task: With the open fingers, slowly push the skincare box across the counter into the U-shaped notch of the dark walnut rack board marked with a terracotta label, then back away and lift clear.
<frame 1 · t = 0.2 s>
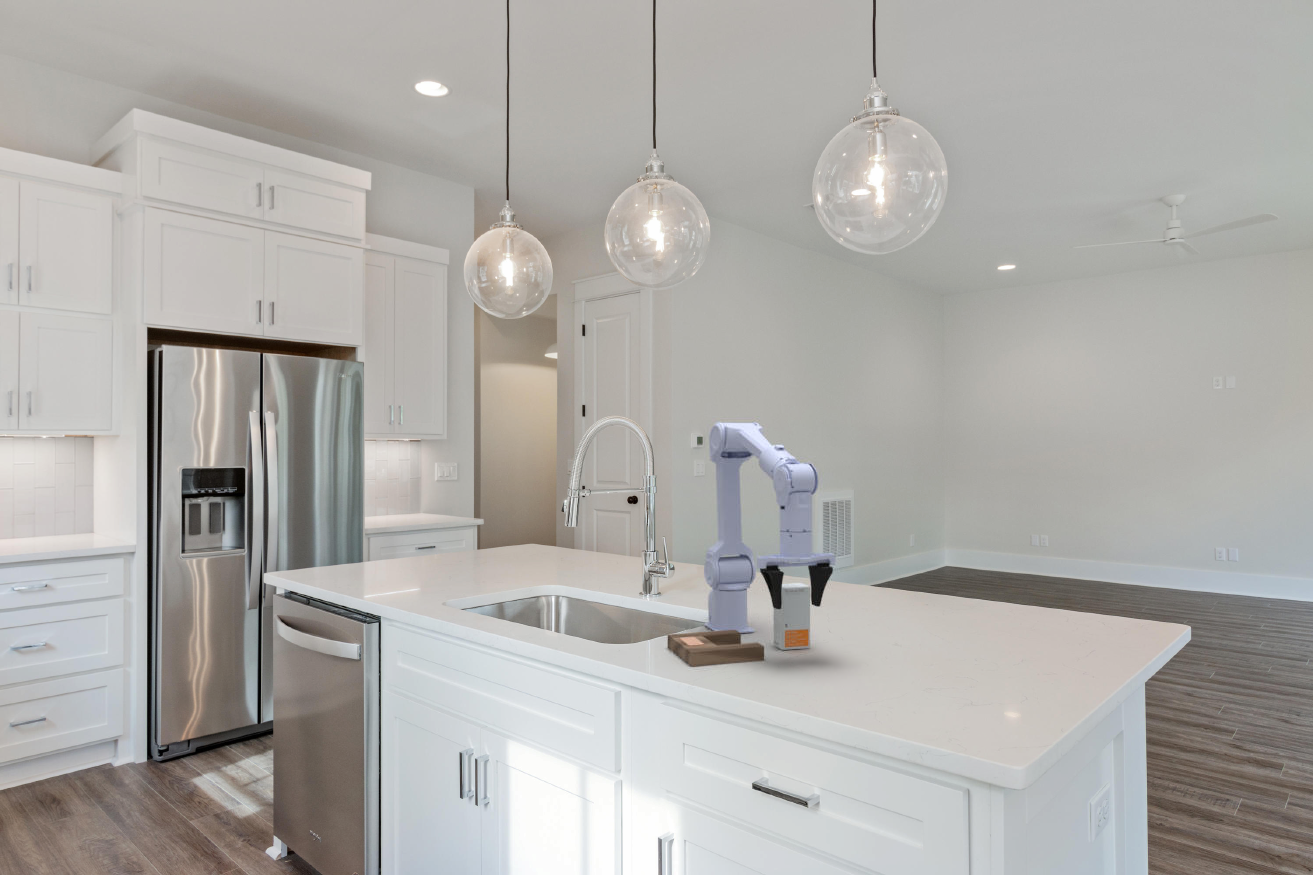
hand: (796, 606, 140), 10 cm above the worktop, fingers open, 7 cm apart
skincare box: (792, 648, 151), on the worktop
rack board: (714, 653, 146), on the worktop
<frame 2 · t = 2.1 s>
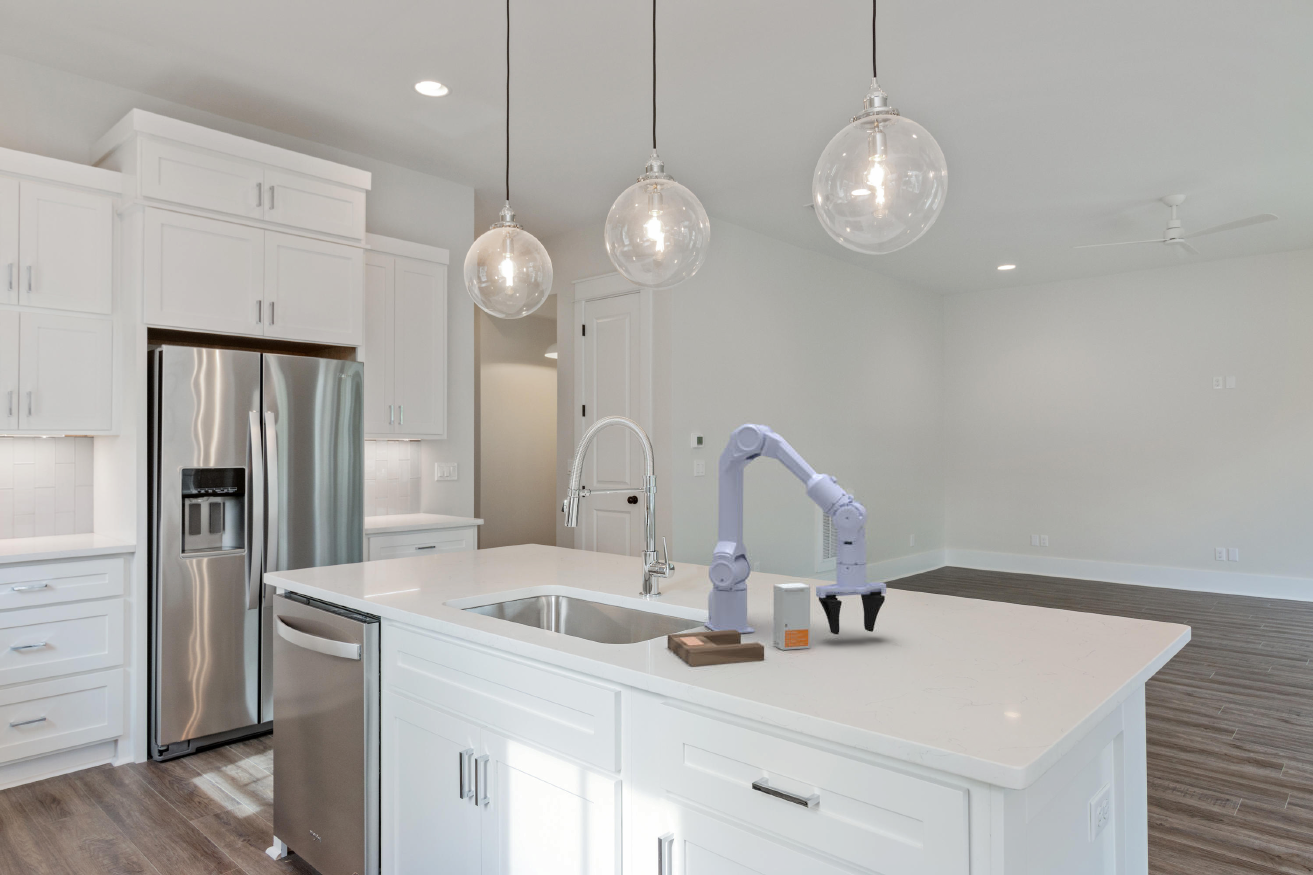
hand: (851, 631, 154), 2 cm above the worktop, fingers open, 7 cm apart
nothing on the worktop moved.
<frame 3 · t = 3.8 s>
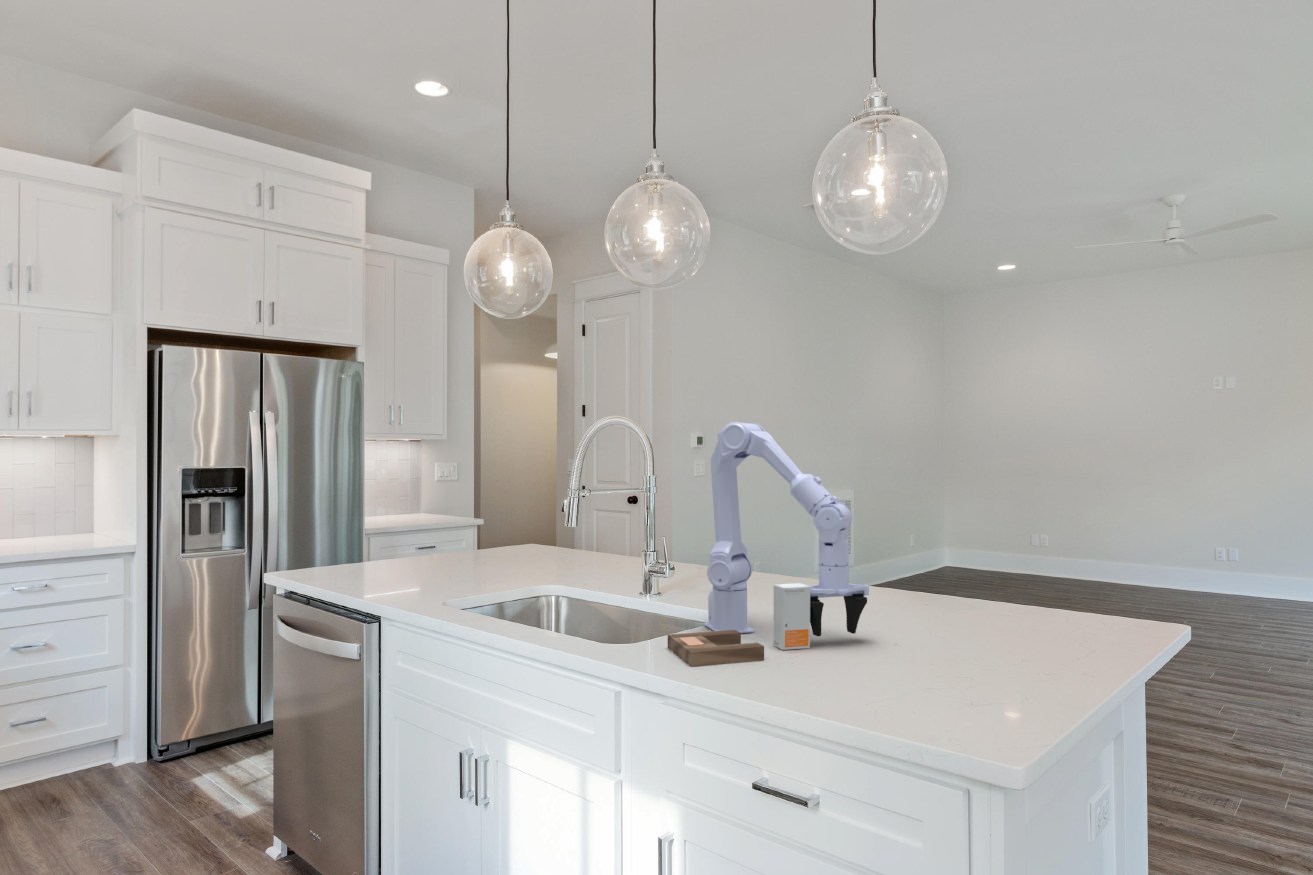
hand: (834, 633, 153), 2 cm above the worktop, fingers open, 7 cm apart
skincare box: (792, 648, 151), on the worktop, touching gripper
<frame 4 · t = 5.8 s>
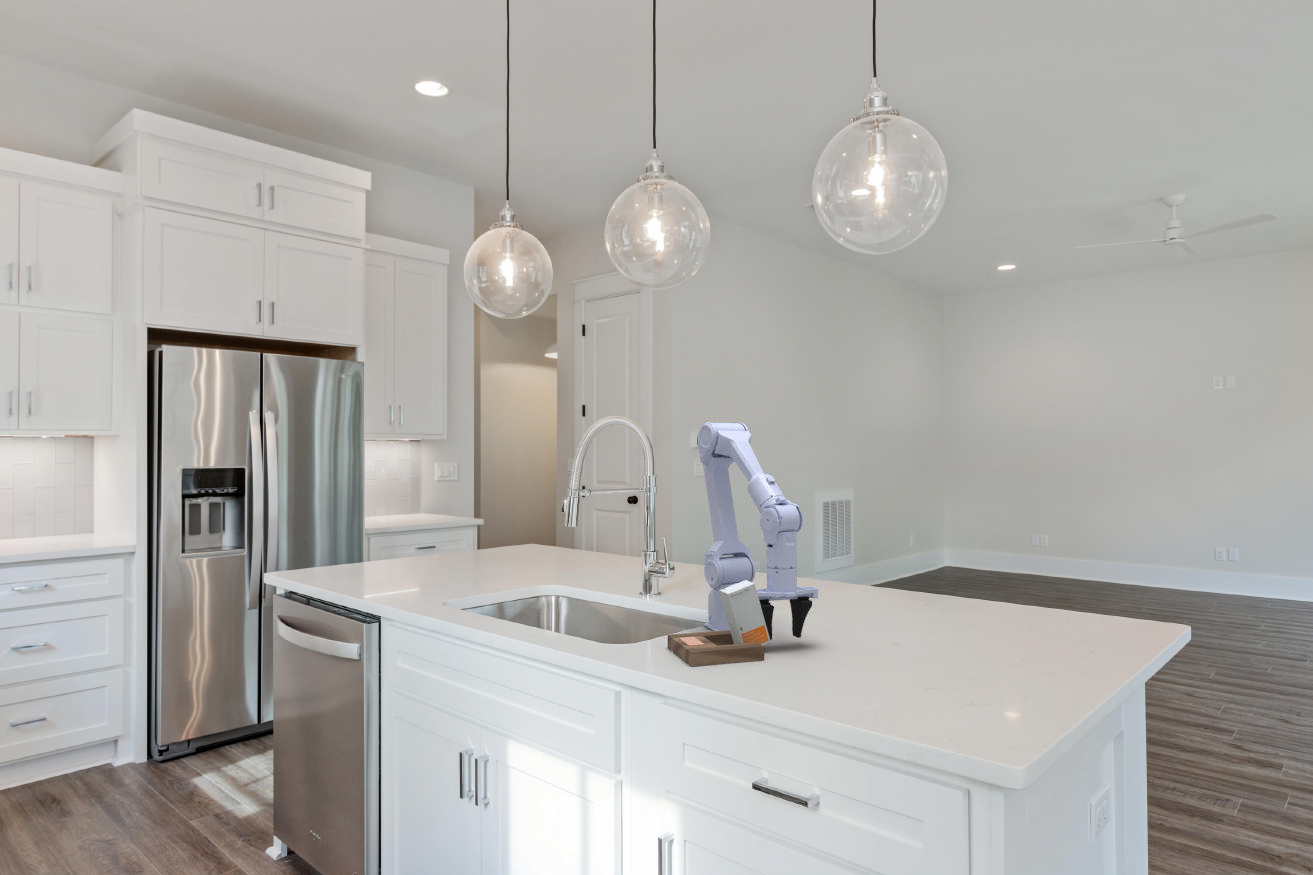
hand: (782, 637, 150), 2 cm above the worktop, fingers open, 5 cm apart
skincare box: (753, 646, 148), point 1 cm above the worktop, touching gripper
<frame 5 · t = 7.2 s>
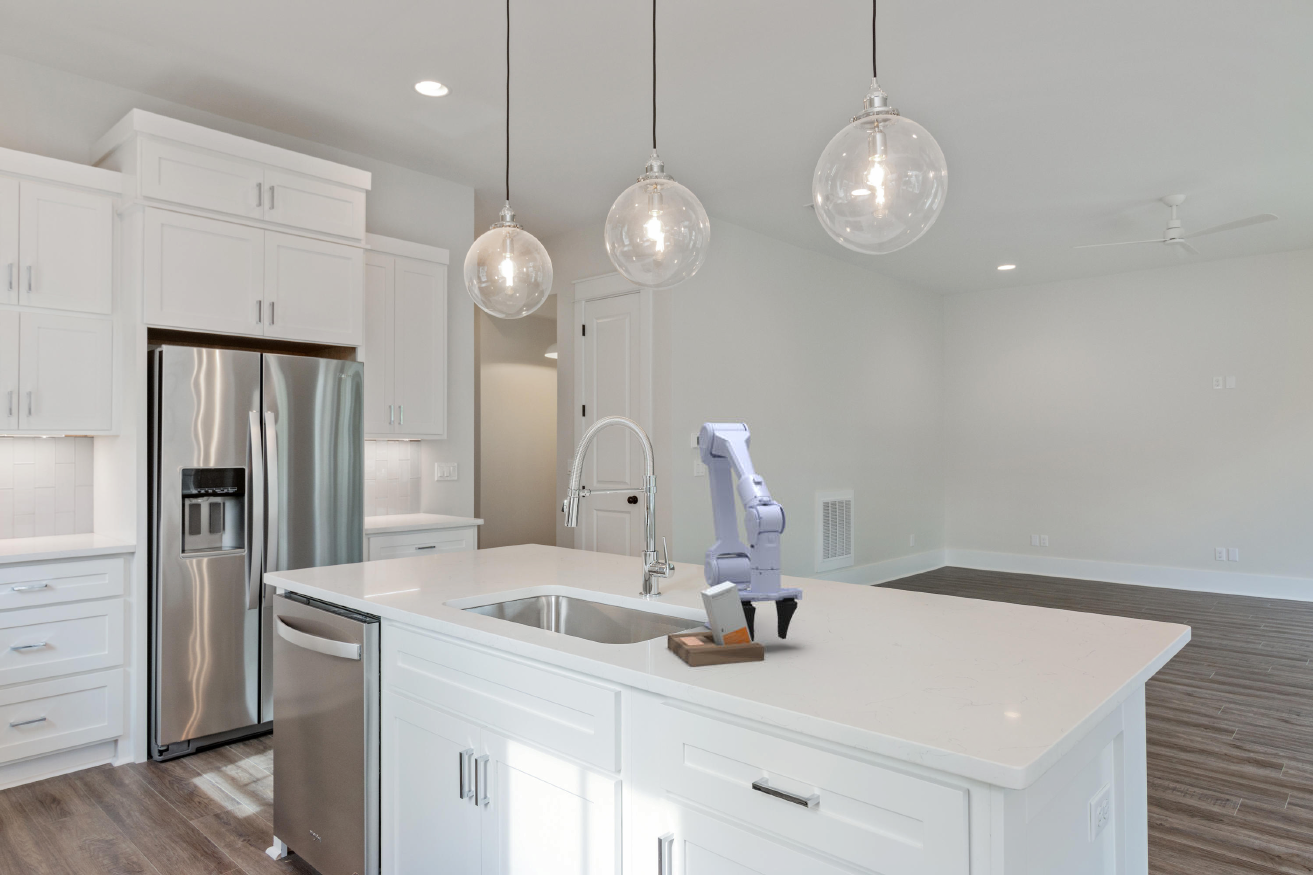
hand: (766, 639, 149), 2 cm above the worktop, fingers open, 6 cm apart
skincare box: (735, 648, 147), point 1 cm above the worktop, touching gripper
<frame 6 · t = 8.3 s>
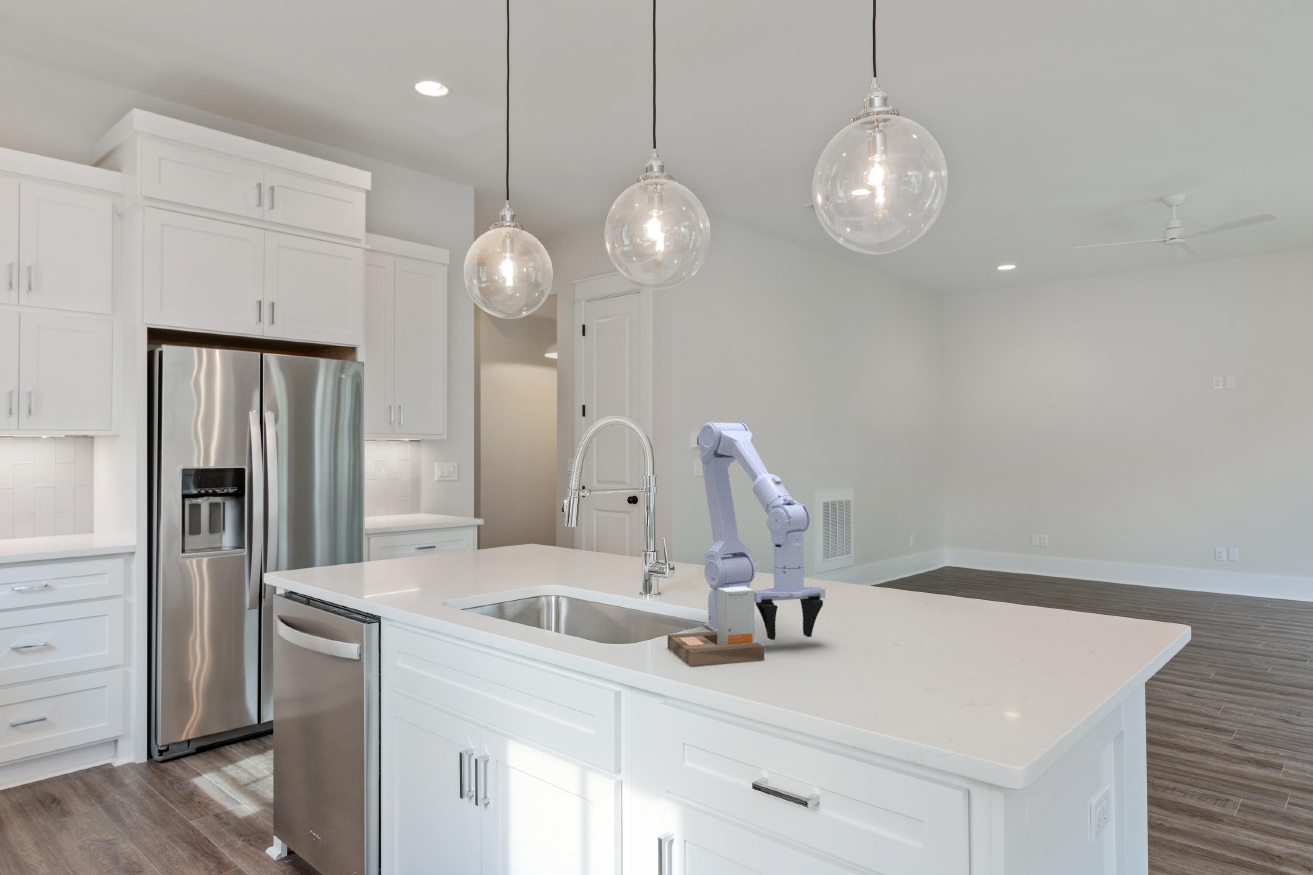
hand: (789, 637, 151), 2 cm above the worktop, fingers open, 7 cm apart
skincare box: (736, 653, 147), on the worktop
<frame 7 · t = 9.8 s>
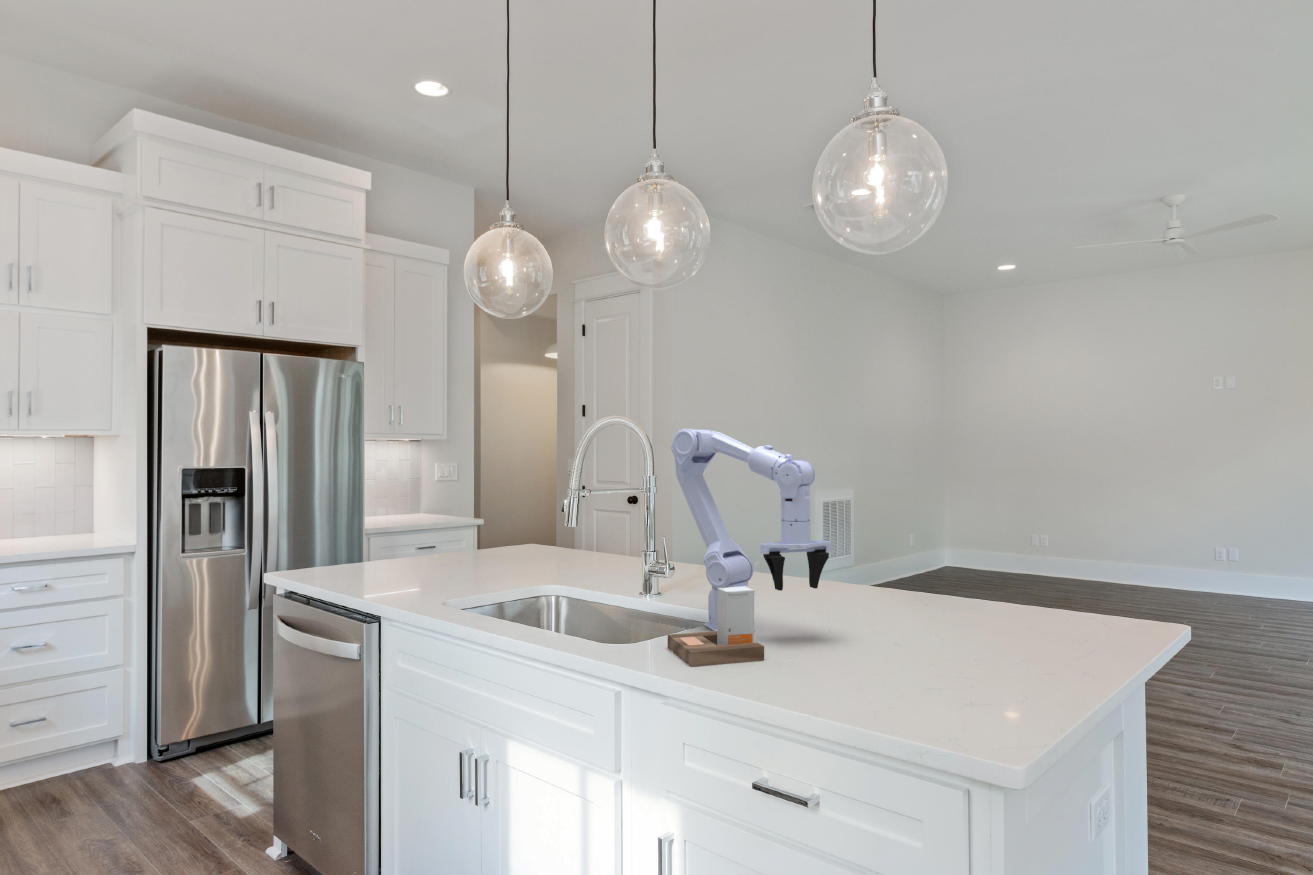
hand: (796, 588, 156), 10 cm above the worktop, fingers open, 7 cm apart
nothing on the worktop moved.
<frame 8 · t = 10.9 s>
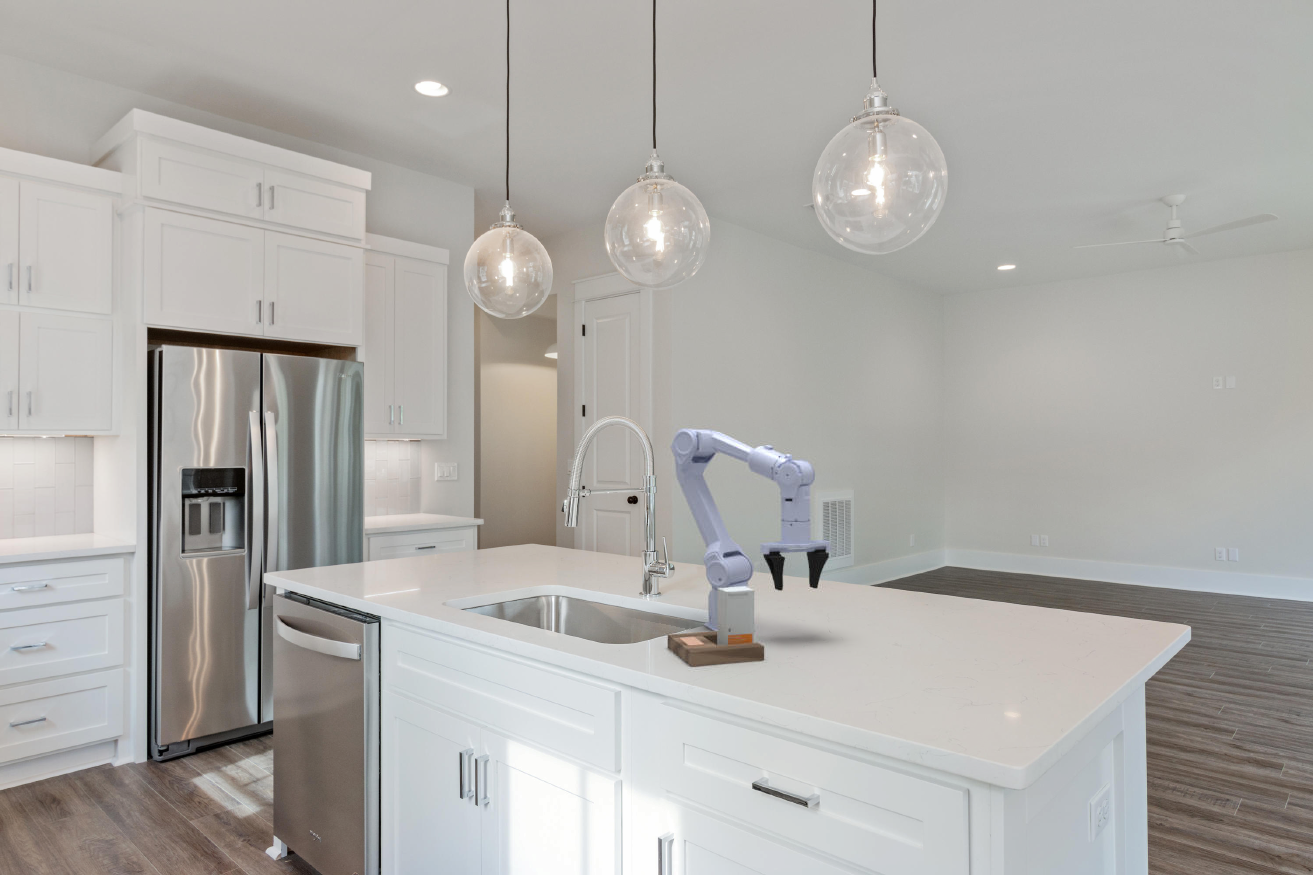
hand: (796, 588, 156), 10 cm above the worktop, fingers open, 7 cm apart
nothing on the worktop moved.
at the end: skincare box 2.1 cm from the target spot on the rack board, point 0.0 cm above the rack board's base; skincare box tilted 0°; the gripper is holding nothing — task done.
